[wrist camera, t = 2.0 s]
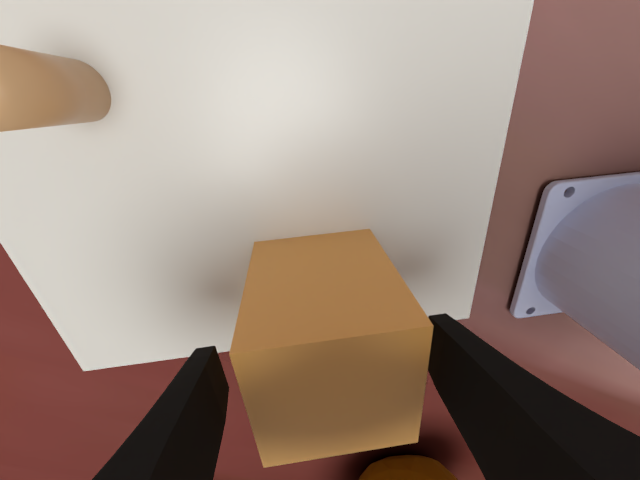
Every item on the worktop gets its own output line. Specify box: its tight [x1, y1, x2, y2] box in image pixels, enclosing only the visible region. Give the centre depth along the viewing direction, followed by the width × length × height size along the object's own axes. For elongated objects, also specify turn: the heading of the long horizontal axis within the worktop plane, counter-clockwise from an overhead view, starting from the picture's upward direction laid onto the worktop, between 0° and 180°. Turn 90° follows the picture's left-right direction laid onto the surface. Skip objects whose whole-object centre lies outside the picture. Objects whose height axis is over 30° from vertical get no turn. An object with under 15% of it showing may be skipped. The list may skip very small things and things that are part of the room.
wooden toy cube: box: [229, 229, 434, 468], centre depth 11 cm, size 5×5×6 cm
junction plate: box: [0, 0, 534, 371], centre depth 10 cm, size 20×16×4 cm
